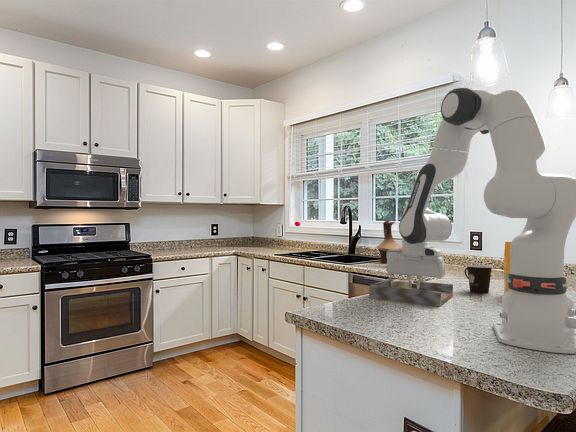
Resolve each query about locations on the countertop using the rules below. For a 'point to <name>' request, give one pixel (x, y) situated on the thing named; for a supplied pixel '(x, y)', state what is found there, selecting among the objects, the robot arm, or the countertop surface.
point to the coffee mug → (479, 278)
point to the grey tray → (413, 293)
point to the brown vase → (387, 242)
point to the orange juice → (506, 265)
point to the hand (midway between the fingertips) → (414, 288)
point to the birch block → (400, 284)
